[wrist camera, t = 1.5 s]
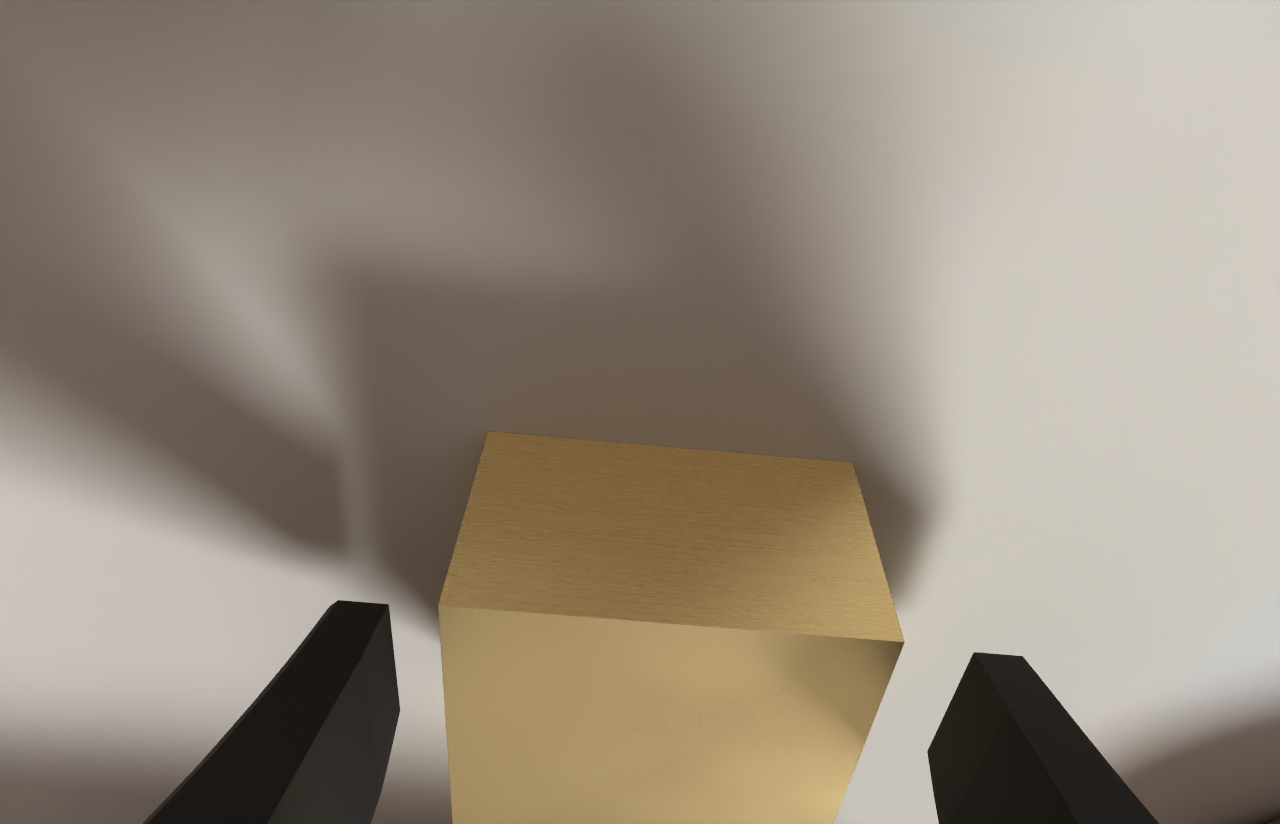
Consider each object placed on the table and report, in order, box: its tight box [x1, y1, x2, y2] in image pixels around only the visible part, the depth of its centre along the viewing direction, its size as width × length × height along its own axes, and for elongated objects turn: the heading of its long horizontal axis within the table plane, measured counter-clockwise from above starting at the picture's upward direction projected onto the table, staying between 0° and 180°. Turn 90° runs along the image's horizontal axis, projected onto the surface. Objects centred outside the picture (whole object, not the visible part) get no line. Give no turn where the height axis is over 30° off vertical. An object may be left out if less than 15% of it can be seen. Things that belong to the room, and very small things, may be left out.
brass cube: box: [438, 431, 904, 824], centre depth 11 cm, size 4×4×3 cm
